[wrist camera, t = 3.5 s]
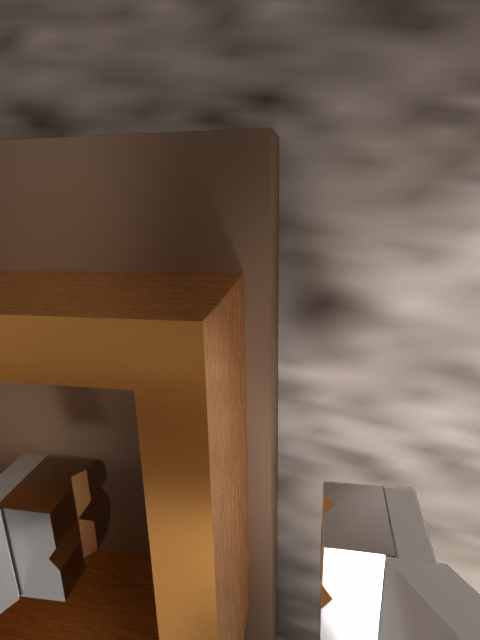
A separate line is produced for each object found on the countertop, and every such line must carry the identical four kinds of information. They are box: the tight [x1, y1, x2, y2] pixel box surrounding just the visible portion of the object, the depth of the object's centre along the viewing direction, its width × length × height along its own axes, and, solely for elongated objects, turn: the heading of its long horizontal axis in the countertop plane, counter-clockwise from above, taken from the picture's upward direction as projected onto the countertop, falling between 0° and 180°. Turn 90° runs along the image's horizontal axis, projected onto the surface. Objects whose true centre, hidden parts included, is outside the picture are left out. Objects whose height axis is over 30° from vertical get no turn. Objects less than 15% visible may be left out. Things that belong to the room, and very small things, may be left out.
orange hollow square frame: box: [0, 270, 250, 640], centre depth 9 cm, size 8×8×3 cm
